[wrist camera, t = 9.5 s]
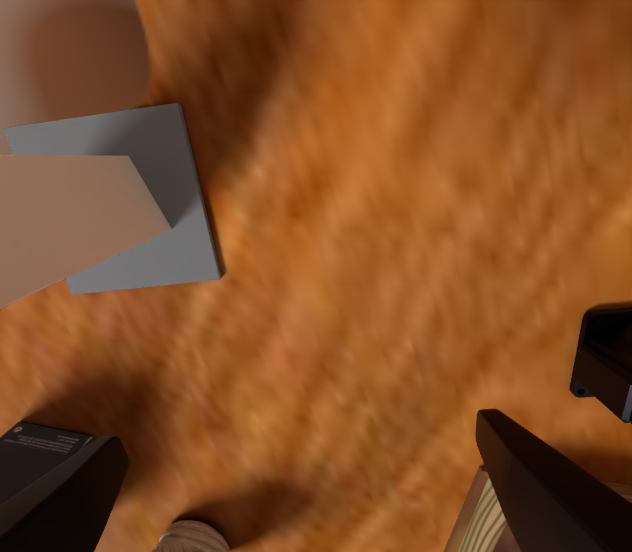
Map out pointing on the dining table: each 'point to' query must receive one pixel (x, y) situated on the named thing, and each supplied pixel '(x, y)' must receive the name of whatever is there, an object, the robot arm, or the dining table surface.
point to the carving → (191, 538)
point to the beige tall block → (68, 217)
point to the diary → (492, 519)
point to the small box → (33, 455)
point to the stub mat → (161, 180)
